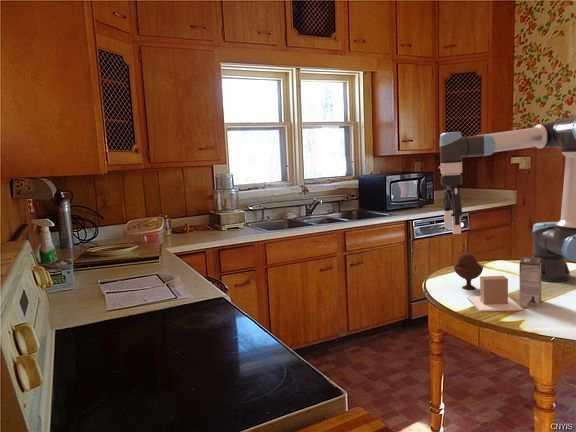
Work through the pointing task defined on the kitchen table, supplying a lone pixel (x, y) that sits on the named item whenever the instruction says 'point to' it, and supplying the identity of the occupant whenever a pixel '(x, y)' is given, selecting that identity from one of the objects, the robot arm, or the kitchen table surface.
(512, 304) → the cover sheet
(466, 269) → the ice cream bowl
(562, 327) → the kitchen table surface
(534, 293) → the coffee box
